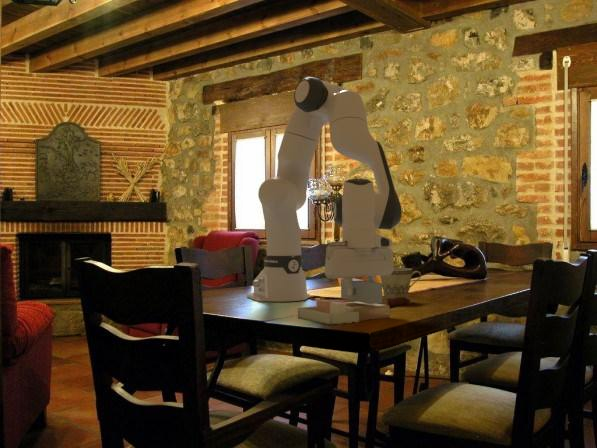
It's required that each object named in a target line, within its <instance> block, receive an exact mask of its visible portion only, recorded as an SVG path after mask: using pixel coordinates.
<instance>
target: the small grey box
mask: <svg viewBox="0 0 597 448" xmlns="http://www.w3.org/2000/svg"><path fill="white" fill-rule="evenodd" d="M340 281H341V282H340V283H341V284H340V287H341V288H340V299H343V300H344V299H345V300H349V301H351V300H353V301H358V302H363V303H367V304H376V303H382V296H383V287H382V282H378V281H377V282H376V281H375V282H372V281H368V280H367V279H366V280H365V279H358V278H355V277H353V281H352V282H351V284H352V286H353V288H356V294H355V295H348V294H347V287H346V285H345V284H344V282H343V278H340Z"/></svg>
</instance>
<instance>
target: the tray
mask: <svg viewBox="0 0 597 448" xmlns="http://www.w3.org/2000/svg"><path fill="white" fill-rule="evenodd" d="M297 318H298V319H301V320H306V321H310V322H314V323H318V322H319V324H322V323H325V324H324V325H327V324H330V325H329V326H332V325H331V324H338V325H343V323H346V324H353V323H352V322H355V323H359V322H360V321H359V312H348V313H338V314H327V313H322V312H317V305H315V306H308V307H307V306H305V307H304V306H303V307H298V308H297Z"/></svg>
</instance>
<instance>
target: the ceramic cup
mask: <svg viewBox="0 0 597 448" xmlns="http://www.w3.org/2000/svg"><path fill="white" fill-rule="evenodd" d="M416 273H418V274H419V277H418V278H417V279H416V280H414V281H413V282H412V284H411V279H412V277H413V275H415V274H416ZM421 278H422V273H421V272H420V271H419V270H414V271H413V268H409V267H408V268H407V267H406V268H405V267H394V268H393V272H392V274H391V275H380V283H382V293H383V296H384V297H386V298H401V297H405V298H407V299H409V292H410V289H411V287H413V286H414V285H415V283H417V282H418V281H420V279H421Z"/></svg>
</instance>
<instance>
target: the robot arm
mask: <svg viewBox="0 0 597 448" xmlns="http://www.w3.org/2000/svg"><path fill="white" fill-rule="evenodd" d="M293 99H294V104H295V107H294V109H293V110H292V113H291V114H290V117H289V119H288V122H287V124H286V127H285V130H284V133H283V135H282V138H281V143H280V146H279V149H278V153H277V170H276V171H277V172H276V176H272V177H269V178H267V179H266V180H264V181H263V182H262V183H261V184H260V186H259V187H258V192H257V193H258V194H257V195H258V199H259V202H260V204H261V208H262V214H263V218H264V219H263V220H264V225H265V231H266V255H265V257H263V262H264V263H263V266H264V267H263V269H262V270H261V271H260V272H259V274H258V275H257V276H256V277H255V278H254V280H253V281H252V287H253V292H250V293H246V298H249V299H251V300H253V301H256V302H281V303H282V302H283V303H284V302H299V301H305V300H307V299H309V298H311V295H310V293H308V289H307V277H306V272H305V271H304V270H303V265H304V264H303V263H304V259H303V257H304V256H303V254H302V231H301V228H300V223H299V220H298V219H299V218H298V213H297V211H299V210H300V209H301V208H302V207H304V205H305V203H306V201H307V190H308V183H309V178H310V171H311V166H312V162H313V159H314V156H315V151H316V149H317V145H318V142H319V138H320V136H321V131H322V129H323V127H324V126H325V125H326V124H328V126H329V130H328V131H329V137H330V143H331V145H332V148H333V149H334V150H335V151H336V153H338V154H340V156H343V157H345V158H347V159H350V160H352V161H353V160H354V161H357V162H360V163H362V164H364V165H365V166H367V167H368V168H370V169H371V171H372V173H373V177H374V180H375V183H376V187H377V193H376V192H375V186H374V182H373V181H371V180H369V179H364V178H351V179H350V178H349V179H347V180H345V181H344V182H343V186H342V187H343V188H342V194H340V195H339V196H337V197H336V199H334V200H333V205H334V206H333V209H334V213H333V215H334V216H333V217H334V218H333V221H334V222H335V223H336V224H337V225H338V226H340V227H341V228H342V231H341V234H342V236H341V237H342V238H341V239H342V241H331V242H330V243H329V244H328V245H327V246H326V249H325V262H324V275H325V277H326V279H333V280H334V279H343V282H344V284H345V285H346V287H347V294H348V295H355V294H356V288H353V286H352V284H351V282H352V281H353V278H364V277H365V278H366V281H372V282H376V281H377V277H378V276H380V275H391V274H392V272H393V268H395V267H394V253H393V251H392V249H391V247H392V246H393V241H392V239H391V238H388V237H386V236H384V235H380V234H379V233H377V229H378V230H391V229H394V227H396V226H397V225H398V224H399V223H400V222H401V221H402V214H403V213H402V211H403V209H402V205H401V202H400V199H399V196H398V193H397V191H396V188H395V186H394V181H393V179H392V175H391V170H390V167H389V164H388V161H387V158H386V157H387V156H386V155H385V151H384V148H383V146H382V143H381V142H379V141H378V140H376V139H375V138H374V137H373V135H371V132H370V130H369V126H368V118H367V112H366V108H365V104H364V100H363V98H362V96H361V94H359V92H357V91H354V90H352V89H351V90H350V89H346V88H344V87H341V86H339V85H338V84H336V83H331V82H328V81H325V80H321V79H320V78H319V77H314V76H306V77H304V78H302V79H301V80H300V81H299V82H298V84H297V85H296V87H295V90H294V95H293Z"/></svg>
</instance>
